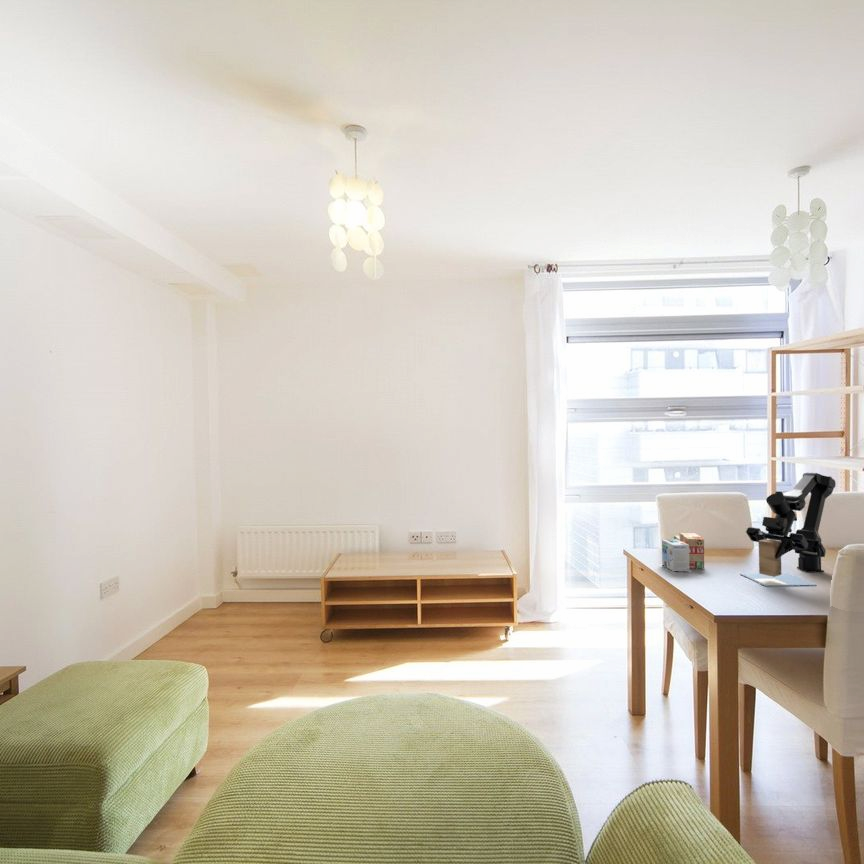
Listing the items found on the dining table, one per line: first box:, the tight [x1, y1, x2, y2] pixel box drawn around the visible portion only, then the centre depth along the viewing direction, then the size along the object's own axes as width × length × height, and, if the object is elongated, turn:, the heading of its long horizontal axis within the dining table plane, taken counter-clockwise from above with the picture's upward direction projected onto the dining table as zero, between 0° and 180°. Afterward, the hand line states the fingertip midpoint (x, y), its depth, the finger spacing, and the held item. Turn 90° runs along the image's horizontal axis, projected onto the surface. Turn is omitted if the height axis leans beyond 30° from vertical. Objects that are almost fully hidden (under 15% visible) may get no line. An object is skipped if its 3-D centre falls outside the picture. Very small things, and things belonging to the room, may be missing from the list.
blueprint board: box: [739, 572, 817, 587], centre depth 187 cm, size 18×15×1 cm
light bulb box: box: [661, 538, 690, 573], centre depth 205 cm, size 11×7×11 cm, turn 178°
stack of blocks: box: [673, 532, 705, 569], centre depth 215 cm, size 21×6×12 cm, turn 168°
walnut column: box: [758, 539, 782, 577], centre depth 183 cm, size 5×5×12 cm
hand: (767, 556), depth 183 cm, fingers closed on walnut column, 5 cm apart
